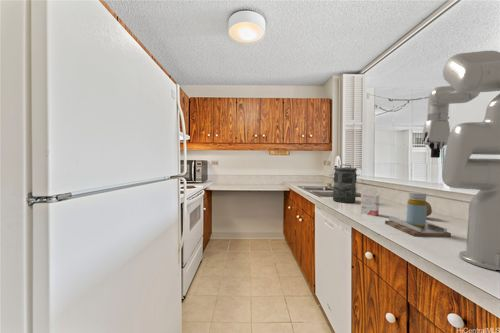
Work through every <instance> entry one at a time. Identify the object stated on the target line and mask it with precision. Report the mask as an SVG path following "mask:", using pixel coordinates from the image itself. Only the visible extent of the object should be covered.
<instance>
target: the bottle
mask: <svg viewBox="0 0 500 333" xmlns="http://www.w3.org/2000/svg"><path fill="white" fill-rule="evenodd" d="M426 202H427V193H426V192H420V191H409V192H408V200H407V204H406V205H407V206H406V220H407V221H406V223H409V224H411V225H414V226H417V227H419V228H424V227H425V226H426V222H427V217H426V213H427V203H426Z"/></svg>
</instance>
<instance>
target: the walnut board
mask: <svg viewBox="0 0 500 333" xmlns="http://www.w3.org/2000/svg"><path fill="white" fill-rule="evenodd" d="M384 224H385V225H387V226H389V227H392V228H395V229H397V230H399V231H401V232H403V233H406V234H408V235H411V236H412V237H441V238H442V237H446V238H450V237H451V236H452V233H451V232H448V231H447V232H444V233H421V232H417V231H415V230H412V229H410V228H407V227H405V226H402V225H400V224H397V223H395V222H392V221H390V220H385V221H384Z"/></svg>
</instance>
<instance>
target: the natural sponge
mask: <svg viewBox="0 0 500 333" xmlns="http://www.w3.org/2000/svg"><path fill="white" fill-rule="evenodd" d="M426 203H427V213H426V218H427V217H428V216H431V214H432V213H433V209H432V206H431V204H430V203H429V202H428V201H426Z"/></svg>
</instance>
